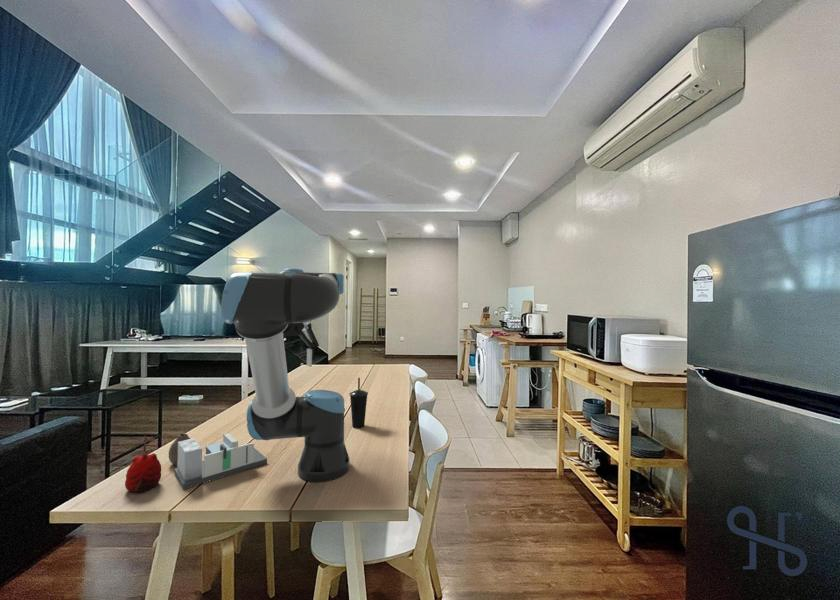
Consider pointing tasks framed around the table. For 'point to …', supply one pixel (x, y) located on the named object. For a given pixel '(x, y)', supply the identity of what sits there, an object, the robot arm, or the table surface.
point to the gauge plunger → (222, 445)
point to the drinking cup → (358, 406)
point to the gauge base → (225, 464)
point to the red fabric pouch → (143, 472)
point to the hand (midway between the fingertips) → (291, 368)
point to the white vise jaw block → (189, 459)
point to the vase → (176, 448)
